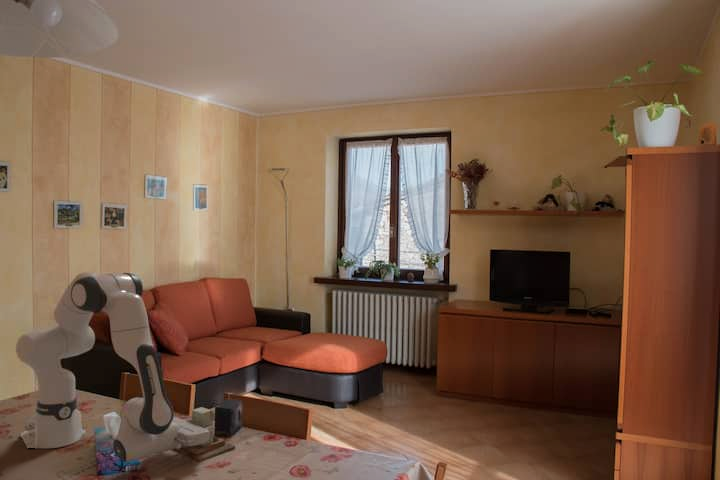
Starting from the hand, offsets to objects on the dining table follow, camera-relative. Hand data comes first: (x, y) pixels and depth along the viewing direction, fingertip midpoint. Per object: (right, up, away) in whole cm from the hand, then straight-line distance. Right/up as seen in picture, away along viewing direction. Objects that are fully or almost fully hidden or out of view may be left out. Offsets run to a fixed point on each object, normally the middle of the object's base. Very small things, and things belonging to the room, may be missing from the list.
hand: (203, 424), depth 193 cm
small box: (+5, -8, +15) cm, 18 cm away
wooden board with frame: (-2, -8, +1) cm, 8 cm away
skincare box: (0, -7, 0) cm, 7 cm away
